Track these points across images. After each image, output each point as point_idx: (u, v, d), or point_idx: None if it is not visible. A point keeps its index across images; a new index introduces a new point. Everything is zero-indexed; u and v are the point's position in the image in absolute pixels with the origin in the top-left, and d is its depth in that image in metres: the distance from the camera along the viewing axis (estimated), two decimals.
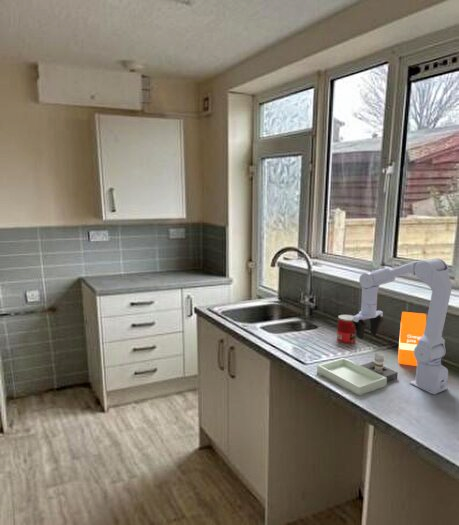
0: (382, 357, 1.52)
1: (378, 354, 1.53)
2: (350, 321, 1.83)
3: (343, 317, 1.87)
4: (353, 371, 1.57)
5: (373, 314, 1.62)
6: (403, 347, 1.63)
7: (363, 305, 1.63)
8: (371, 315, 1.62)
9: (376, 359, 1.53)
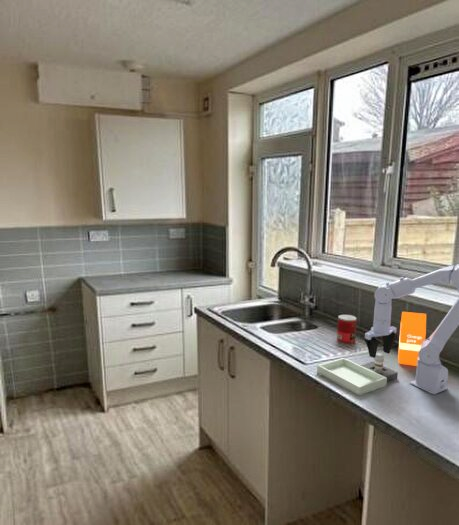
0: (382, 357, 1.52)
1: (378, 354, 1.53)
2: (350, 321, 1.83)
3: (343, 317, 1.87)
4: (353, 371, 1.57)
5: (387, 331, 1.49)
6: (403, 347, 1.63)
7: (376, 321, 1.49)
8: (385, 332, 1.48)
9: (376, 359, 1.53)
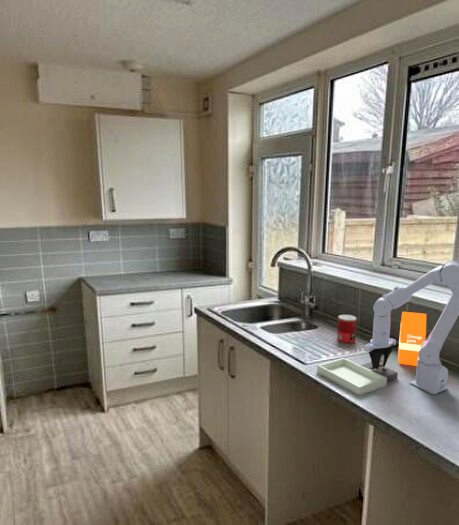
0: (382, 357, 1.52)
1: None
2: (350, 321, 1.83)
3: (343, 317, 1.87)
4: (353, 371, 1.57)
5: (386, 344, 1.50)
6: (403, 347, 1.63)
7: (375, 334, 1.50)
8: (384, 345, 1.49)
9: None
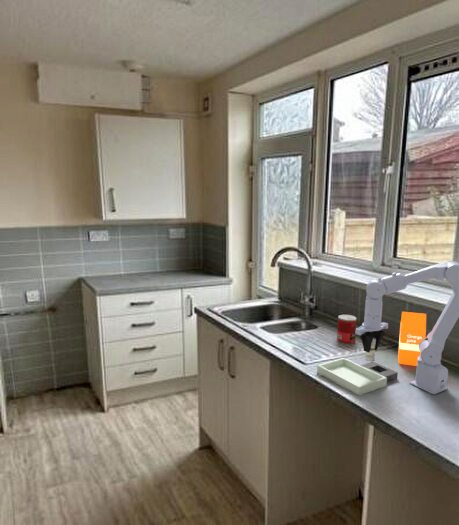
0: (374, 341, 1.49)
1: None
2: (350, 321, 1.83)
3: (343, 317, 1.87)
4: (353, 371, 1.57)
5: (377, 327, 1.47)
6: (403, 347, 1.63)
7: (367, 317, 1.47)
8: (375, 328, 1.47)
9: None
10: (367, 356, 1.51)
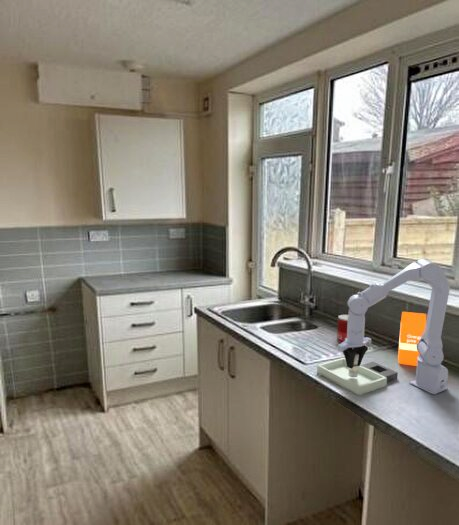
0: (356, 357, 1.47)
1: None
2: None
3: (343, 317, 1.87)
4: None
5: (360, 342, 1.45)
6: (403, 347, 1.63)
7: (349, 332, 1.46)
8: (358, 344, 1.45)
9: None
10: (350, 372, 1.49)
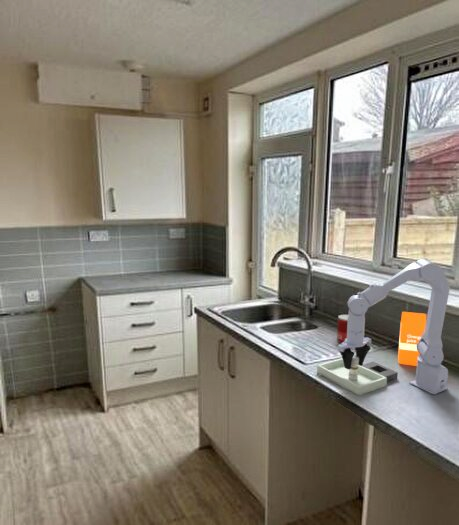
0: (357, 360, 1.48)
1: (353, 357, 1.49)
2: None
3: (343, 317, 1.87)
4: None
5: (360, 343, 1.45)
6: (403, 347, 1.63)
7: (349, 333, 1.46)
8: (358, 344, 1.45)
9: None
10: (350, 375, 1.49)
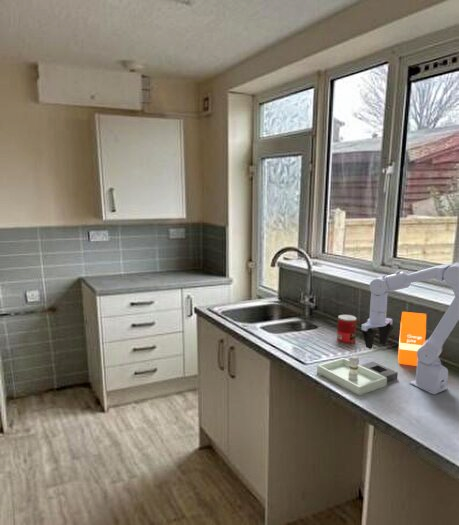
0: (357, 360, 1.48)
1: (353, 357, 1.49)
2: (350, 321, 1.83)
3: (343, 317, 1.87)
4: None
5: (383, 322, 1.51)
6: (403, 347, 1.63)
7: (372, 313, 1.52)
8: (381, 323, 1.51)
9: (351, 362, 1.49)
10: (350, 375, 1.49)
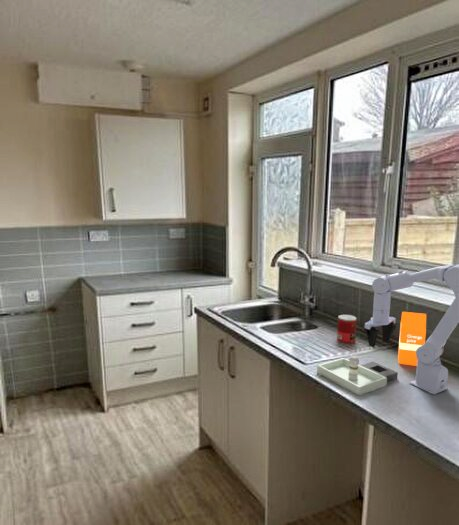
0: (357, 360, 1.48)
1: (353, 357, 1.49)
2: (350, 321, 1.83)
3: (343, 317, 1.87)
4: None
5: (386, 321, 1.52)
6: (403, 347, 1.63)
7: (376, 311, 1.53)
8: (384, 322, 1.52)
9: (351, 362, 1.49)
10: (350, 375, 1.49)
